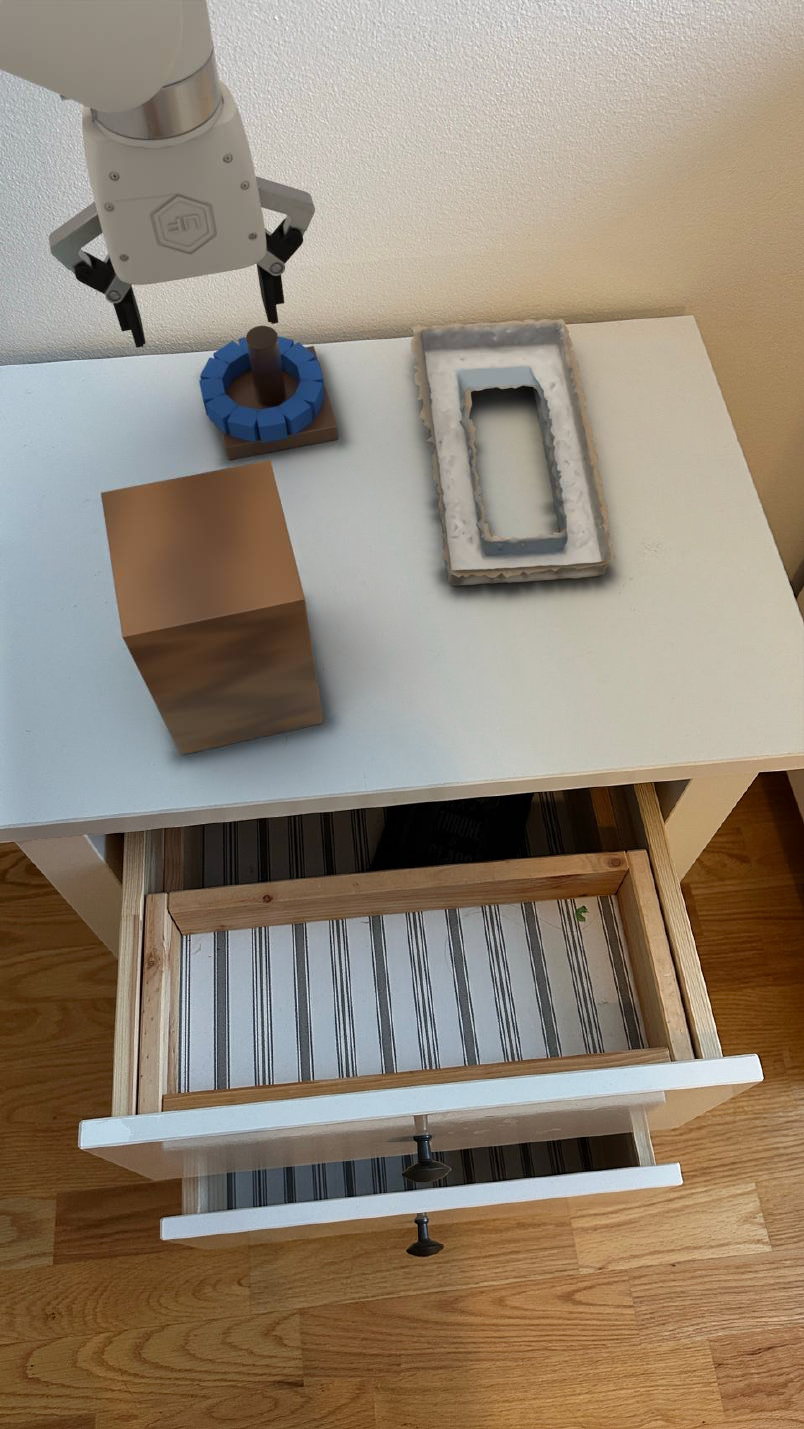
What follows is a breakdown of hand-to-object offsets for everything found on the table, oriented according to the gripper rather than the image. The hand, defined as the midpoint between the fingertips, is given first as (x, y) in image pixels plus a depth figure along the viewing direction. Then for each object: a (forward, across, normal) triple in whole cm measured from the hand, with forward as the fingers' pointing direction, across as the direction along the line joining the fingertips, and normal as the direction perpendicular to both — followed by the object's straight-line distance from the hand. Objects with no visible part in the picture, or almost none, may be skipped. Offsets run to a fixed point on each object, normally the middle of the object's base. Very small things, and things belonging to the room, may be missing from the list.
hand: (204, 321), depth 71 cm
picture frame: (+10, +21, -10) cm, 25 cm away
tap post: (+10, +4, 0) cm, 11 cm away
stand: (+10, -3, -24) cm, 26 cm away
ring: (+8, +3, 0) cm, 9 cm away
